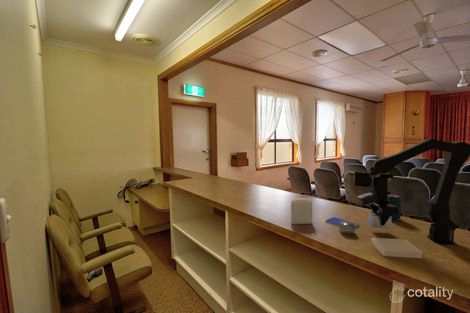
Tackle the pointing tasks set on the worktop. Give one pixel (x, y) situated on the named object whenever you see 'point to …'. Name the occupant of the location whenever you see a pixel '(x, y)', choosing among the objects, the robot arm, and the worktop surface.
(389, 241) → the stand
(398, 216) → the soda can
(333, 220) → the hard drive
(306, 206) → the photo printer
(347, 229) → the tin
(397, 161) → the robot arm
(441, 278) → the worktop surface
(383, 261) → the worktop surface
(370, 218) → the housing
